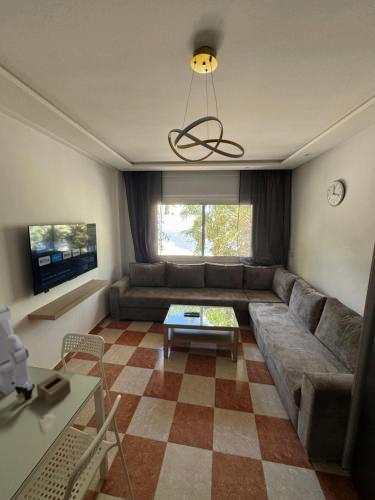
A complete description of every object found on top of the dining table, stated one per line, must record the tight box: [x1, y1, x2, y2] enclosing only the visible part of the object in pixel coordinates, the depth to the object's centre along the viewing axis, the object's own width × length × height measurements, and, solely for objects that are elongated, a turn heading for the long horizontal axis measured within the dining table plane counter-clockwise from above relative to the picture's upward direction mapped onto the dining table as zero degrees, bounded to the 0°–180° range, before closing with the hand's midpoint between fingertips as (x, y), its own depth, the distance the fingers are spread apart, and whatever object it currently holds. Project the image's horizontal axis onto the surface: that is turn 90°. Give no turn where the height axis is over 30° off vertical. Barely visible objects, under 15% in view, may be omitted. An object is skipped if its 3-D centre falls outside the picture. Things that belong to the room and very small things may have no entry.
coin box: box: [36, 372, 71, 406], centre depth 116 cm, size 12×10×6 cm
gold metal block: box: [15, 393, 34, 406], centre depth 112 cm, size 2×6×4 cm, turn 150°
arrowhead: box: [39, 412, 58, 435], centre depth 100 cm, size 7×2×10 cm
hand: (24, 396), depth 112 cm, fingers open, 7 cm apart
